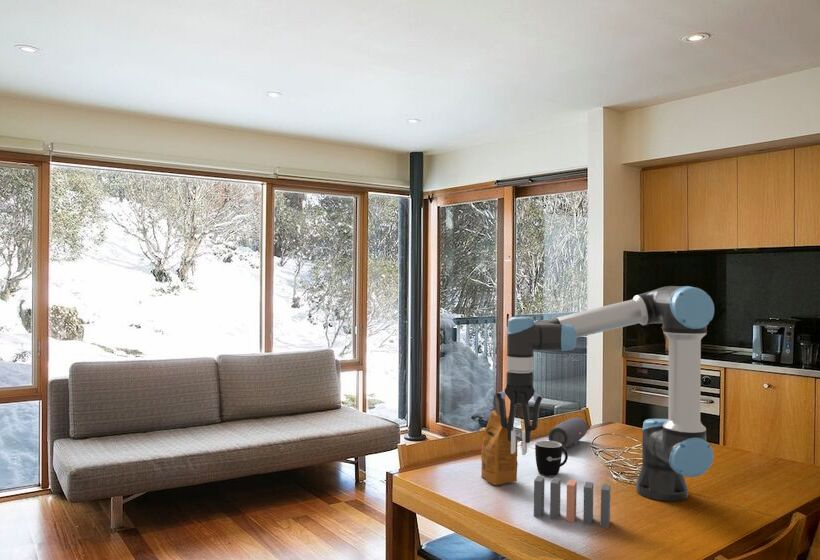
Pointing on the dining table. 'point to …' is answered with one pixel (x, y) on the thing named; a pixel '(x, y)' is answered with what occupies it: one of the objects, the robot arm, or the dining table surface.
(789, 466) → the dining table surface
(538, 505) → the domino
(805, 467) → the dining table surface
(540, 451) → the mug
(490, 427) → the coffee package
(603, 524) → the domino
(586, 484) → the domino
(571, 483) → the domino
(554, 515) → the domino
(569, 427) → the bluetooth speaker
